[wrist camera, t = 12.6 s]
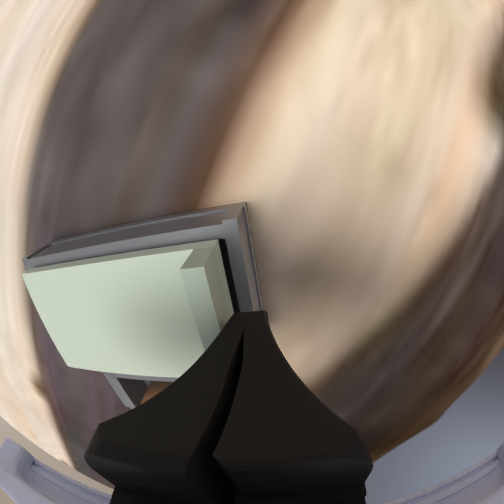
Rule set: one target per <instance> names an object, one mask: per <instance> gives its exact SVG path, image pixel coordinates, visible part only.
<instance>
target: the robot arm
mask: <svg viewBox="0 0 504 504" xmlns="http://www.w3.org/2000/svg"><path fill="white" fill-rule="evenodd" d="M84 459H85V461H86V462H87V464H88V465H89V466H90V467H91V468H92V469H93V470H95V471H96V472H97V473H99V474H100V475H101V476H102V477H104V478H105V479H106V480H108V481H109V482H111V483H112V484H113V485H115V489H114V491H113V494H112V495H109V494H107V493H104V492H101V491H99V490H96V489H94V488H91V487H89V486H87V485H85V484H82V483H80V482H78V481H76V480H74V479H72V478H69V477H67V476H66V475H63V474H61V473H59V472H58V471H56V470H54V469H52V468H50V467H48V466H47V465H45V464H43V463H41V462H40V461H38V460H37V459H35V458H34V457H33V456H32V455H31V454H30V453H29V452H28V451H27V450H26V449H24V448H23V447H22V446H20V445H19V444H18V443H16V442H15V441H13V440H12V439H10V438H9V437H7V438H6V439H5V441H4V443H3V445H2V446H1V448H0V487H1V488H2V489H3V490H4V491H5V492H6V493H7V494H8V495H9V496H10V497H11V498H12V500H13V501H14V502H15V503H16V504H366V502H365V496H366V488H365V481H366V479H367V478H368V476H369V474H370V472H371V471H372V468H373V464H372V460H371V457H370V454H369V452H368V450H367V448H366V446H365V444H364V442H363V440H362V439H361V437H360V436H359V434H358V432H357V431H356V429H355V428H353V427H352V426H351V425H349V424H348V423H346V422H345V421H344V420H342V419H341V418H340V417H338V416H337V415H336V414H335V413H333V412H332V411H331V410H330V409H329V408H328V407H327V406H325V405H324V404H323V403H322V402H321V401H320V400H319V399H318V398H317V397H316V396H315V395H314V394H313V393H312V392H311V391H310V390H309V389H308V388H307V387H306V385H305V384H304V383H303V382H302V381H301V379H300V378H299V377H298V376H297V375H296V373H295V372H294V371H293V369H292V368H291V366H290V365H289V363H288V362H287V360H286V359H285V357H284V356H283V354H282V352H281V351H280V349H279V347H278V345H277V343H276V341H275V339H274V337H273V335H272V332H271V330H270V327H269V322H268V315H267V312H266V311H264V310H261V311H251V312H241V313H234V314H233V315H232V316H231V318H230V319H229V320H228V322H227V323H226V325H225V326H224V327H223V329H222V330H221V332H220V333H219V334H218V336H217V337H216V338H215V339H214V341H213V342H212V343H211V345H210V346H209V347H208V348H207V349H206V351H205V352H204V353H203V354H202V355H201V356H200V357H199V358H198V360H197V361H196V362H195V363H194V364H193V365H192V366H191V367H190V368H189V369H188V370H187V371H186V372H185V373H183V374H182V375H181V376H180V377H179V378H178V379H177V380H175V381H174V382H173V383H172V384H170V385H169V386H168V387H166V388H165V389H163V390H162V391H161V392H159V393H158V394H157V395H155V396H154V397H152V398H151V399H149V400H147V401H146V402H144V403H142V404H141V405H139V406H137V407H135V408H133V409H132V410H130V411H128V412H126V413H123V414H121V415H119V416H117V417H114V418H112V419H110V420H108V421H105V422H103V423H100V424H99V426H98V427H97V429H96V431H95V433H94V435H93V437H92V440H91V442H90V444H89V446H88V448H87V450H86V452H85V454H84ZM385 504H504V443H503V444H502V445H501V446H500V447H499V448H498V449H497V451H496V452H494V453H493V454H491V455H490V456H488V457H487V458H485V459H483V460H482V461H480V462H478V463H477V464H475V465H473V466H472V467H470V468H468V469H466V470H464V471H463V472H461V473H459V474H457V475H455V476H453V477H451V478H449V479H447V480H445V481H443V482H441V483H438V484H436V485H434V486H432V487H429V488H427V489H424V490H422V491H420V492H417V493H414V494H412V495H409V496H407V497H403V498H401V499H398V500H394V501H392V502H388V503H385Z"/></svg>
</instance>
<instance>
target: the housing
mask: <svg viewBox="0 0 504 504" xmlns="http://www.w3.org/2000/svg"><path fill="white" fill-rule="evenodd" d="M216 239H218V241H219V246H220V251H221V256H222V260H223V265H224V270H225V274H226V279H227V284H228V288H229V293H230V297H231V302H232V306H233V311H234V313H241V312H251V311H261V310H263V303H262V297H261V291H260V285H259V279H258V273H257V266H256V260H255V254H254V248H253V242H252V236H251V230H250V223H249V217H248V211H247V205H246V202H245V203H238V204H231V205H225V206H218V207H212V208H206V209H200V210H194V211H188V212H183V213H177V214H172V215H166V216H161V217H156V218H151V219H146V220H141V221H136V222H131V223H126V224H121V225H117V226H112V227H108V228H103V229H99V230H94V231H90V232H86V233H81V234H77V235H73V236H69V237H65V238H61V239H57V240H53V241H51V242H50V243H48V244H45V245H43V246H42V247H40V248H38V249H37V250H35V251H33V252H32V253H30V254H28V255H27V256H25V257H23V258H22V260H23V263H24V266H25V269H26V271H27V270H29V269H31V268H36V267H42V266H48V265H54V264H59V263H65V262H71V261H77V260H83V259H89V258H96V257H102V256H108V255H114V254H121V253H127V252H134V251H140V250H147V249H153V248H160V247H167V246H174V245H180V244H187V243H194V242H201V241H209V240H216ZM103 373H104V375H105V376H106V378H107V380H108V381H109V383H110V384H111V386H112V387H113V389H114V390H115V392H116V393H117V395H118V396H119V398H120V399H121V400H122V402H123V403H124V405H125V406H127V407H130V408H131V409H133V408H135V407H137V406H139V405H140V404H141V401H142V399H143V397H144V394H145V392H146V390H147V388H148V385H149V383H150V381H165V382H174V381H175V380H177V379H178V378H177V377H154V376H140V375H128V374H118V373H109V372H103Z"/></svg>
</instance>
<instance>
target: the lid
mask: <svg viewBox="0 0 504 504" xmlns="http://www.w3.org/2000/svg"><path fill="white" fill-rule="evenodd" d="M22 276H23V279H24V281H25V284H26V286H27V288H28V291H29V293H30V296H31V298H32V300H33V302H34V305H35V307H36V309H37V311H38V313H39V315H40V317H41V319H42V321H43V323H44V325H45V327H46V329H47V331H48V333H49V335H50V337H51V338H52V340H53V342H54V344H55V345H56V347H57V349H58V351H59V352H60V354H61V356H62V357H63V359H64V361H65V362H66V364H67V365H68V366H69V367H75V368H81V369H87V370H94V371H101V372H109V373H118V374H128V375H140V376H154V377H177V378H179V377H180V376H181V375H182V374H183V373H185V372H186V371H187V370H188V369H189V368H190V367H191V366H192V365H193V364H194V363H195V362H196V361H197V360H198V358H199V357H200V356H201V355H202V354H203V353H204V352H205V351H206V349H207V348H208V347H209V346H210V345H211V343H212V342H213V341H214V339H215V338H216V337H217V336H218V334H219V333H220V332H221V330H222V329H223V327H224V326H225V325H226V323H227V322H228V320H229V319H230V318H231V316H232V315H233V314H234V311H233V306H232V302H231V297H230V293H229V288H228V284H227V279H226V274H225V270H224V265H223V260H222V256H221V251H220V246H219V241H218V239H216V240H209V241H201V242H194V243H187V244H180V245H174V246H167V247H160V248H153V249H147V250H140V251H134V252H127V253H121V254H114V255H108V256H102V257H96V258H89V259H83V260H77V261H71V262H65V263H59V264H54V265H48V266H42V267H36V268H31V269H29V270H27V271H26V272H24V273H23V274H22Z"/></svg>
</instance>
